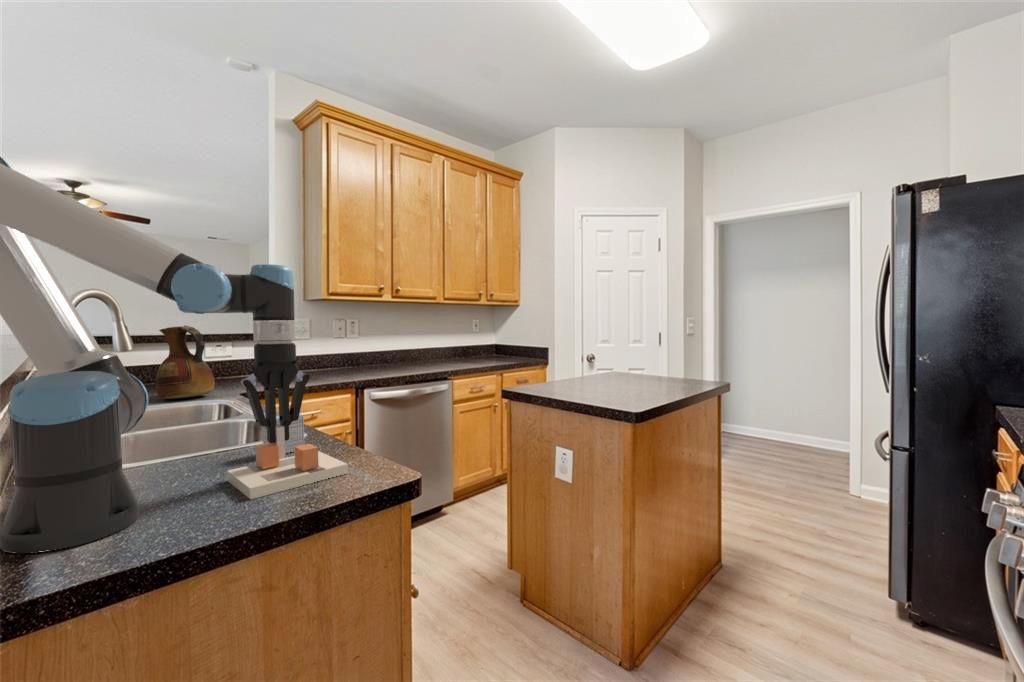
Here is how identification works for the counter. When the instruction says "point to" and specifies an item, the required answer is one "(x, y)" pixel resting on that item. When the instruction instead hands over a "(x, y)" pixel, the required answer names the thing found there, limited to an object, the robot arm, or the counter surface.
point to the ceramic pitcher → (183, 367)
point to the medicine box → (290, 434)
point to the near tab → (306, 457)
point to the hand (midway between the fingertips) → (279, 457)
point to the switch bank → (283, 476)
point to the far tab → (267, 455)
